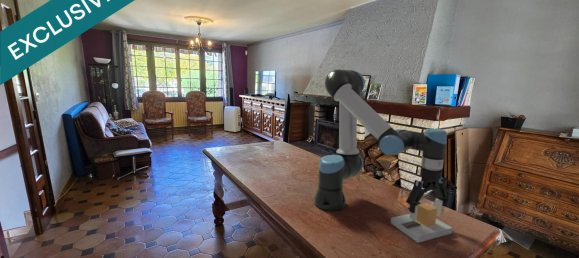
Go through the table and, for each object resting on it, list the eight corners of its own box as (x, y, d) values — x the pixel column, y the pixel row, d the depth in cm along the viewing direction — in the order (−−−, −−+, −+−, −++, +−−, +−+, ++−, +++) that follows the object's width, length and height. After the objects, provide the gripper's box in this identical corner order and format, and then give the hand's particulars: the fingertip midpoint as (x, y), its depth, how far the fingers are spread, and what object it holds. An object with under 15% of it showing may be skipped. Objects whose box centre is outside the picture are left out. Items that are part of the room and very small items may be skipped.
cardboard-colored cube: (426, 226, 99) (428, 210, 98) (415, 220, 104) (417, 204, 103) (435, 224, 101) (437, 208, 100) (424, 218, 106) (426, 202, 104)
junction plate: (417, 243, 93) (419, 222, 91) (390, 223, 106) (391, 204, 104) (451, 233, 99) (454, 213, 98) (422, 215, 112) (424, 198, 111)
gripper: (415, 174, 91) (409, 227, 95) (462, 167, 99) (455, 216, 103) (399, 167, 98) (394, 217, 101) (445, 161, 106) (438, 207, 110)
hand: (425, 216), depth 102 cm, fingers open, 13 cm apart
